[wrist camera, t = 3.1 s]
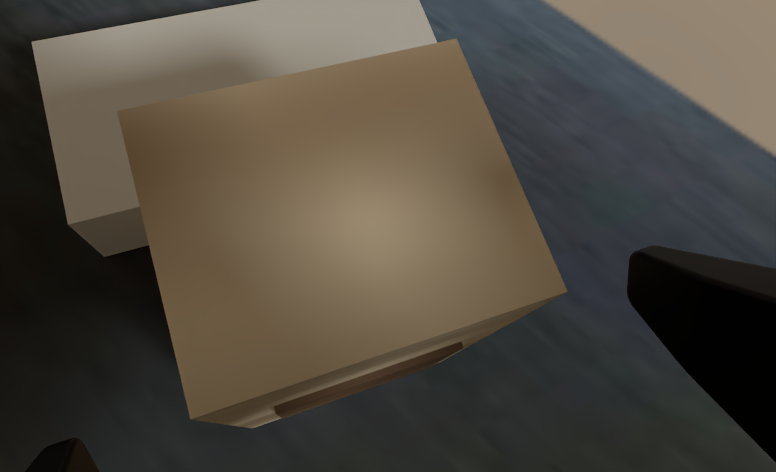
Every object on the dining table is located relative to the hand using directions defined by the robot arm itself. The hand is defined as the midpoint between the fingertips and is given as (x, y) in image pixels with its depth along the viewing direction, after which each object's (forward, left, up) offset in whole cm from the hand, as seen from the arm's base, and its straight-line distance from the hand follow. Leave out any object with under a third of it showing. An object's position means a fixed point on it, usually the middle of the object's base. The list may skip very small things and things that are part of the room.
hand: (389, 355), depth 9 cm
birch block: (+1, +2, -10) cm, 10 cm away
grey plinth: (+5, +8, -9) cm, 14 cm away
